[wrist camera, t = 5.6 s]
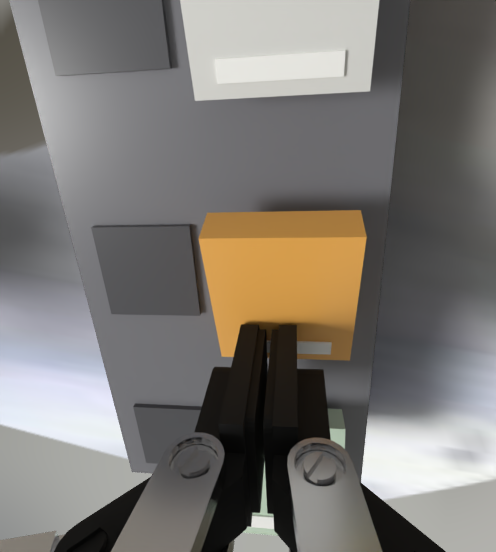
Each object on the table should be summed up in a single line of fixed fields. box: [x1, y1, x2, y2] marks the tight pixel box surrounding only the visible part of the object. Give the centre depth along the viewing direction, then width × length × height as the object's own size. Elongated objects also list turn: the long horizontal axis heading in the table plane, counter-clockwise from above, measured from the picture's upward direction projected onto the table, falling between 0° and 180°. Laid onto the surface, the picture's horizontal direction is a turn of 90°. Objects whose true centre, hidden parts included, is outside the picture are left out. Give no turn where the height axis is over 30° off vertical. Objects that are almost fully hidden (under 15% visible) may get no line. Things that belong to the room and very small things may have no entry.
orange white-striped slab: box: [199, 210, 367, 361], centre depth 11 cm, size 4×5×1 cm
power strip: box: [9, 0, 410, 483], centre depth 13 cm, size 10×25×4 cm, turn 3°
